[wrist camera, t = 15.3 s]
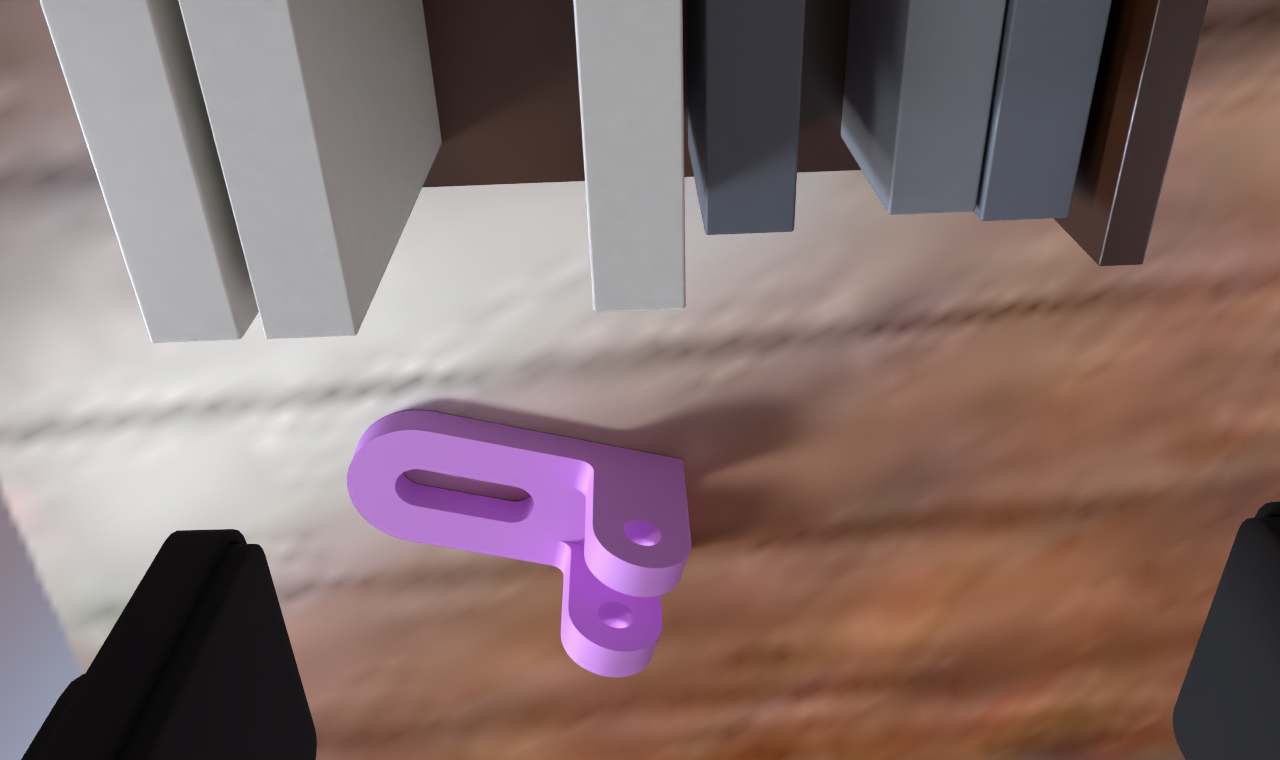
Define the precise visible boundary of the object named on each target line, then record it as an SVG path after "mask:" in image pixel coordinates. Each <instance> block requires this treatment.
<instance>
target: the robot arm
mask: <svg viewBox="0 0 1280 760" xmlns="http://www.w3.org/2000/svg"><path fill="white" fill-rule="evenodd" d="M1173 727H1174V733H1175V737H1176V740H1177V743H1178V745H1179V748H1180V750H1181V752H1182V754H1183V755H1184V757H1185V759H1186V760H1280V502H1271V503H1266V504H1265V505H1264V506H1262V507H1261V508H1260V509H1259V510H1258V512H1257V514H1256V516H1255V518H1249V519H1246V520H1245V521H1244V522H1243V523H1242V524H1241V526H1240V528H1239V530H1238V533H1237V535H1236V538H1235V541H1234V544H1233V546H1232V549H1231V552H1230V555H1229V558H1228V560H1227V563H1226V566H1225V569H1224V571H1223V574H1222V577H1221V580H1220V583H1219V585H1218V588H1217V591H1216V594H1215V596H1214V599H1213V602H1212V605H1211V608H1210V610H1209V613H1208V616H1207V619H1206V621H1205V624H1204V627H1203V630H1202V633H1201V635H1200V638H1199V641H1198V644H1197V646H1196V649H1195V652H1194V655H1193V658H1192V660H1191V663H1190V666H1189V669H1188V671H1187V674H1186V677H1185V680H1184V683H1183V685H1182V688H1181V691H1180V694H1179V696H1178V699H1177V702H1176V705H1175V708H1174V712H1173ZM316 748H317V741H316V732H315V727H314V724H313V720H312V717H311V713H310V710H309V706H308V703H307V699H306V696H305V692H304V689H303V685H302V682H301V678H300V675H299V671H298V668H297V664H296V661H295V657H294V654H293V650H292V647H291V644H290V640H289V637H288V633H287V630H286V626H285V623H284V619H283V616H282V612H281V609H280V605H279V602H278V598H277V595H276V591H275V588H274V584H273V581H272V577H271V574H270V570H269V567H268V563H267V560H266V556H265V554H264V551H263V549H262V548H261V546H260V545H258V544H247V543H246V541H245V538H244V536H243V535H242V534H241V533H240V532H239V531H238V530H234V529H225V530H186V531H176V532H174V533H172V534H170V536H169V537H168V538H167V539H166V541H165V542H164V544H163V545H162V547H161V549H160V550H159V552H158V554H157V555H156V557H155V559H154V560H153V562H152V564H151V565H150V567H149V569H148V570H147V572H146V574H145V575H144V577H143V579H142V580H141V582H140V584H139V585H138V587H137V589H136V590H135V592H134V594H133V595H132V597H131V599H130V600H129V602H128V604H127V605H126V607H125V609H124V610H123V612H122V614H121V615H120V617H119V619H118V620H117V622H116V624H115V625H114V627H113V629H112V630H111V632H110V634H109V635H108V637H107V639H106V640H105V642H104V644H103V645H102V647H101V649H100V650H99V652H98V654H97V655H96V657H95V659H94V660H93V662H92V664H91V665H90V667H89V669H88V670H87V672H86V674H83V675H81V676H80V677H78V678H77V679H75V680H74V681H72V682H71V683H70V684H69V686H68V687H67V688H66V689H65V691H64V692H63V693H62V695H61V696H60V697H59V699H58V700H57V702H56V704H55V705H54V707H53V709H52V710H51V712H50V714H49V715H48V717H47V718H46V720H45V722H44V723H43V725H42V726H41V729H40V730H39V731H38V733H37V735H36V736H35V738H34V740H33V741H32V743H31V744H30V746H29V748H28V750H27V751H26V753H25V754H24V756H23V758H22V759H21V760H315V759H316Z"/></svg>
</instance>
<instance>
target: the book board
mask: <svg viewBox="0 0 1280 760" xmlns="http://www.w3.org/2000/svg"><path fill="white" fill-rule="evenodd" d="M422 3H423V10H424V17H425V24H426V32H427V39H428V46H429V53H430V60H431V68H432V75H433V82H434V89H435V97H436V104H437V111H438V118H439V125H440V133H441V140H442V144H441V146H440V148H439V150H438V153H437V155H436V157H435V159H434V162H433V164H432V166H431V168H430V171H429V173H428V175H427V177H426V180H425V182H424V184H423V186H422V187H442V186H467V185H493V184H518V183H543V182H568V181H585V173H584V157H583V142H582V126H581V111H580V95H579V80H578V64H577V48H576V33H575V17H574V2H573V0H422ZM1207 4H1208V0H1112V3H1111V8H1110V13H1109V18H1108V22H1107V27H1106V32H1105V37H1104V42H1103V47H1102V52H1101V57H1100V62H1099V67H1098V72H1097V77H1096V82H1095V87H1094V92H1093V97H1092V102H1091V107H1090V112H1089V117H1088V122H1087V127H1086V132H1085V137H1084V142H1083V147H1082V152H1081V157H1080V162H1079V167H1078V172H1077V177H1076V182H1075V186H1074V191H1073V196H1072V201H1071V206H1070V211H1069V216H1068V217H1067V218H1054V219H1055V220H1056V222H1057V223H1058V224H1059V225H1060V226H1061V227H1062V228H1063V229H1064V230H1065V231H1066V232H1067V233H1068V234H1069V235H1070V236H1071V237H1072V238H1073V239H1074V240H1075V241H1076V242H1077V243H1078V244H1079V245H1080V246H1081V247H1082V248H1083V250H1084V251H1085V252H1086V253H1087V254H1088V255H1089V256H1090V257H1091V258H1092V259H1093V260H1094V261H1095V262H1096V263H1097V264H1098V265H1099V266H1113V265H1138V264H1143V261H1144V257H1145V253H1146V249H1147V245H1148V241H1149V237H1150V233H1151V229H1152V225H1153V221H1154V217H1155V213H1156V209H1157V205H1158V201H1159V197H1160V193H1161V189H1162V185H1163V181H1164V177H1165V172H1166V168H1167V164H1168V160H1169V156H1170V152H1171V148H1172V144H1173V140H1174V136H1175V132H1176V128H1177V124H1178V120H1179V116H1180V112H1181V108H1182V104H1183V100H1184V96H1185V92H1186V88H1187V84H1188V80H1189V76H1190V72H1191V68H1192V64H1193V60H1194V56H1195V52H1196V48H1197V44H1198V40H1199V36H1200V32H1201V28H1202V24H1203V20H1204V16H1205V12H1206V8H1207ZM849 13H850V0H806V1H805V20H804V40H803V60H802V80H801V100H800V120H799V140H798V160H797V172H820V171H846V170H861V168H860V167H859V165H858V163H857V162H856V160H855V158H854V157H853V155H852V153H851V152H850V150H849V149H848V147H847V145H846V144H845V142H844V140H843V139H842V137H841V123H842V109H843V96H844V82H845V68H846V54H847V40H848V27H849ZM682 16H683V109H684V177H694V173H693V168H692V163H691V158H690V153H689V148H688V40H687V0H682Z"/></svg>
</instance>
